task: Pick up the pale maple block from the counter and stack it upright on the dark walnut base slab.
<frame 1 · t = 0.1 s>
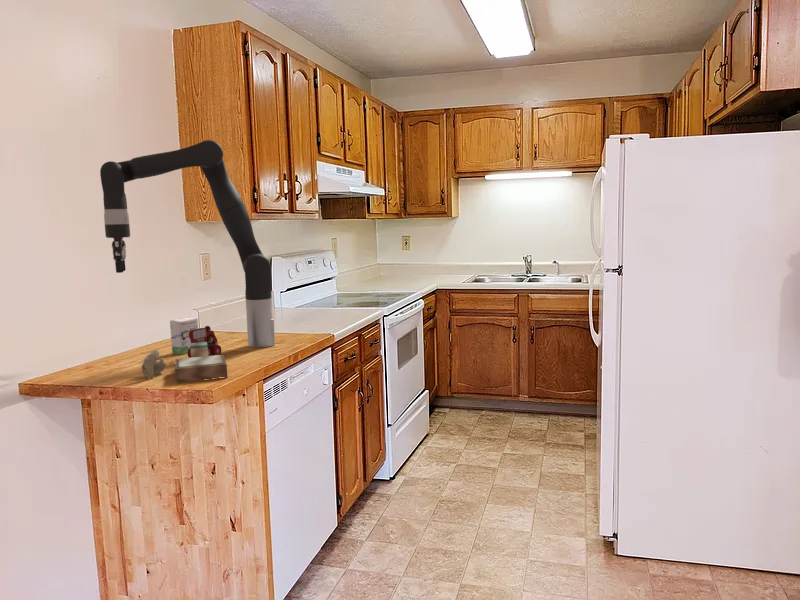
hand: (121, 271, 208), 29 cm above the countertop, fingers open, 8 cm apart
maple block: (200, 366, 195), on the countertop
base slab: (201, 375, 183), on the countertop
bone: (151, 376, 183), on the countertop
ink box: (186, 352, 218), on the countertop
toy fire truck: (205, 358, 208), on the countertop
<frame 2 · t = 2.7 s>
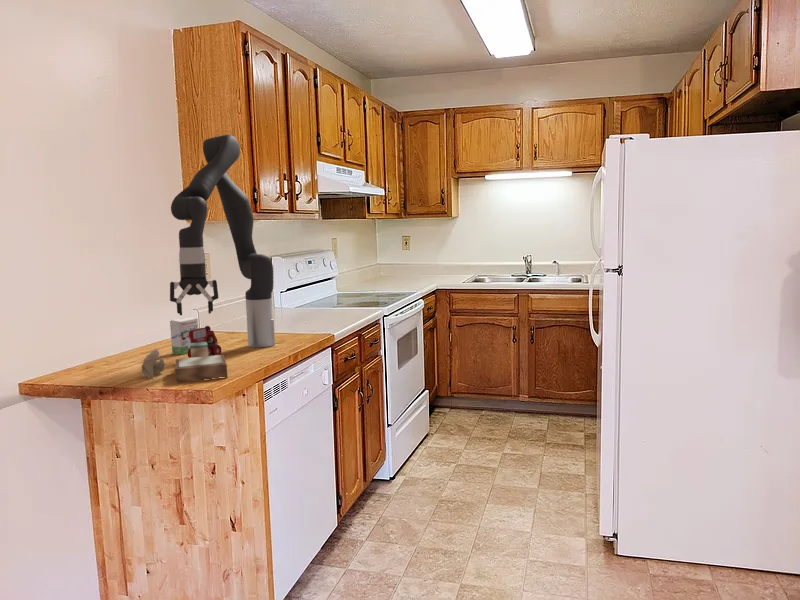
hand: (195, 314, 193), 16 cm above the countertop, fingers open, 8 cm apart
nothing on the countertop moved.
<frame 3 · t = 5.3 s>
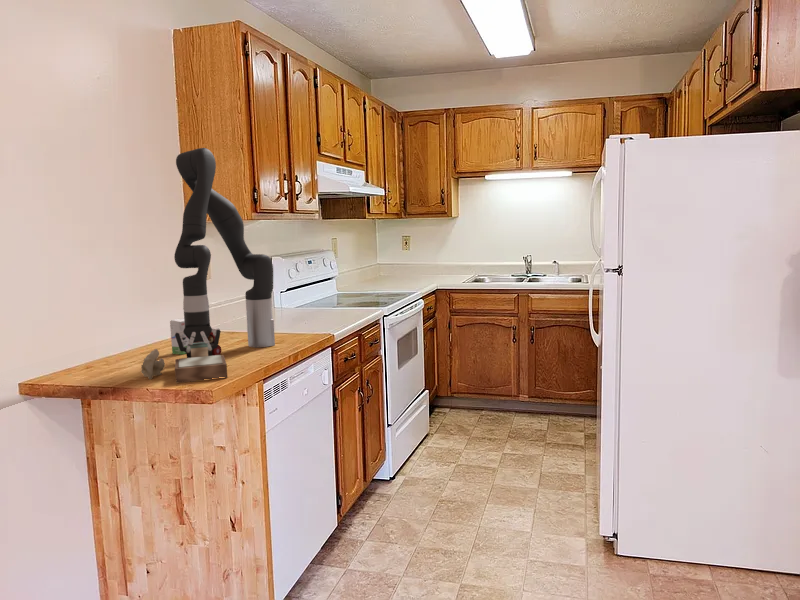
hand: (199, 362, 195), 1 cm above the countertop, fingers closed on maple block, 5 cm apart
maple block: (200, 366, 195), on the countertop, touching gripper
everything else where it was.
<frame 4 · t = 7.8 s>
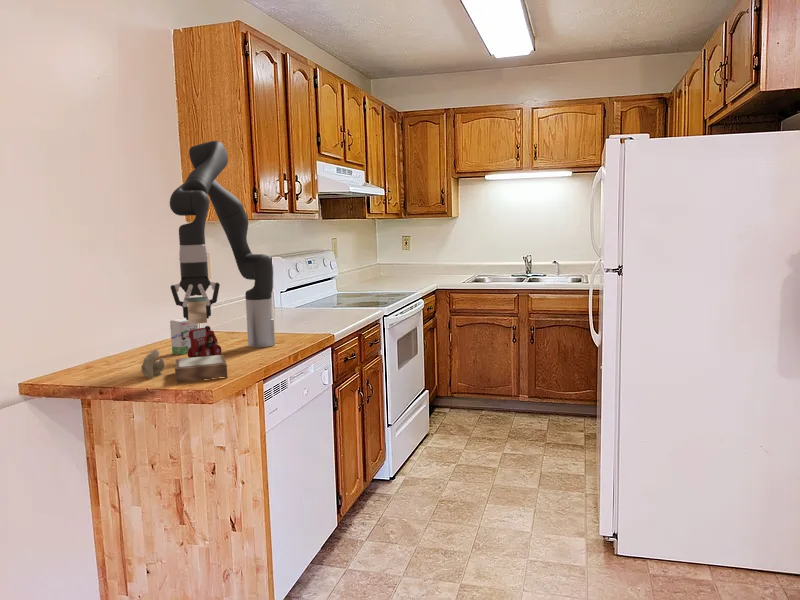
hand: (197, 318, 181), 17 cm above the countertop, fingers closed on maple block, 5 cm apart
maple block: (197, 322, 181), point 16 cm above the countertop, touching gripper
everything else where it was.
when the fingers open (6 cm above the countertop, at t = 10.5 s): maple block stays where it is, resting on base slab.
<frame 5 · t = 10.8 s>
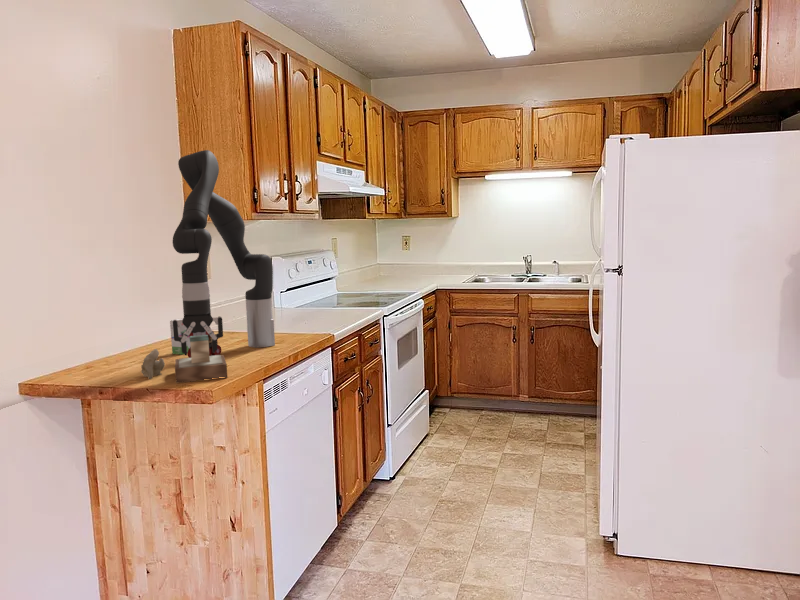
hand: (199, 353, 182), 6 cm above the countertop, fingers open, 7 cm apart
maple block: (200, 360, 182), point 4 cm above the countertop, touching base slab
everything else where it was.
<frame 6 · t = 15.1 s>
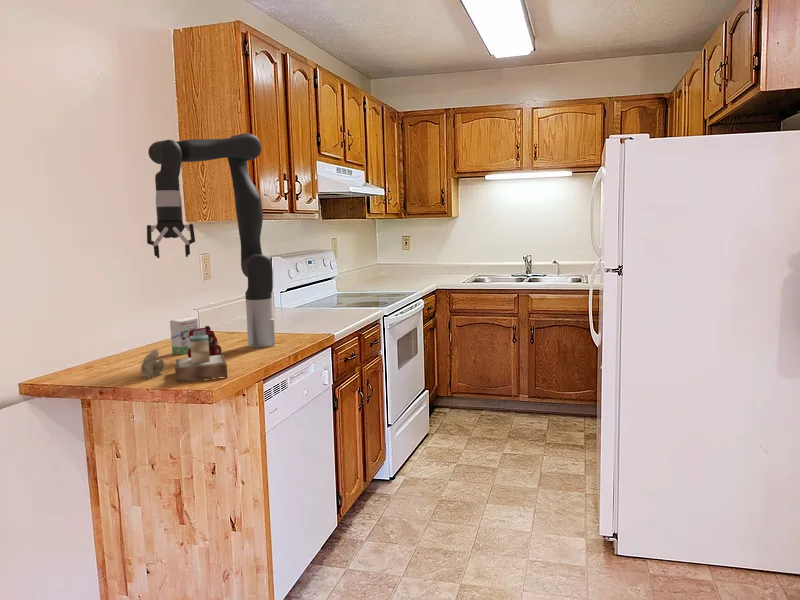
hand: (172, 257, 196), 34 cm above the countertop, fingers open, 8 cm apart
nothing on the countertop moved.
at the end: maple block inside the target area on the base slab (0.0 cm from its centre), point 4.3 cm above the base slab's base; maple block tilted 0°; the gripper is holding nothing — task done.
